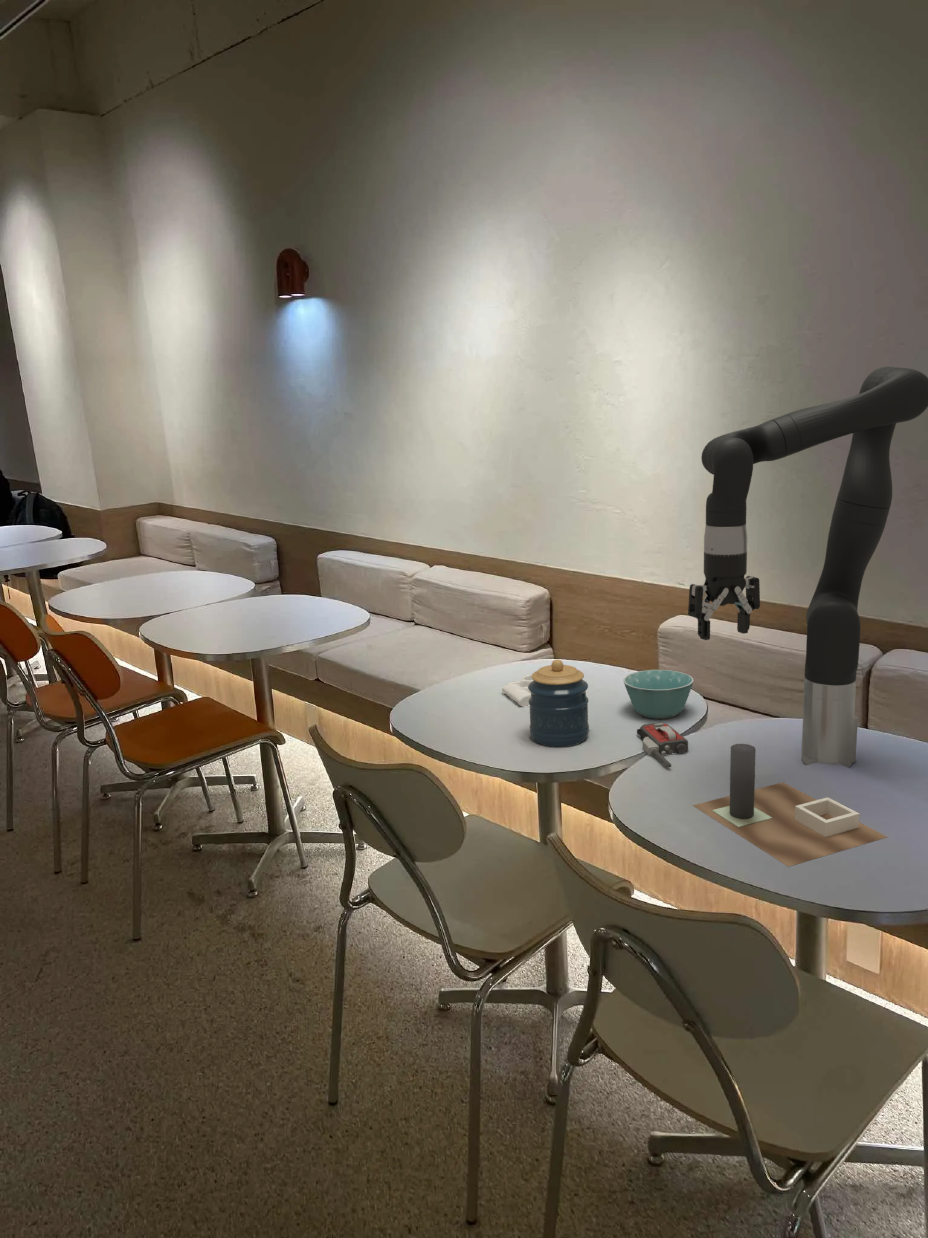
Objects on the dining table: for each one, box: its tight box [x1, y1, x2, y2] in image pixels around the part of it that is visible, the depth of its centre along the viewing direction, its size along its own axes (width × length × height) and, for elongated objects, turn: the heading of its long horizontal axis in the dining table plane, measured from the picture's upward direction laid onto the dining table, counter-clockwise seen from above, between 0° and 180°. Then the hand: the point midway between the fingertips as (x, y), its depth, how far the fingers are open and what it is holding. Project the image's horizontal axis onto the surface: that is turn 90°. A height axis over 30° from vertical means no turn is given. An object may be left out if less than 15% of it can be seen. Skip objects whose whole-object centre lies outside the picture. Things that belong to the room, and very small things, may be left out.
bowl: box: [623, 669, 694, 720], centre depth 208 cm, size 16×16×8 cm
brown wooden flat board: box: [692, 782, 888, 868], centre depth 151 cm, size 20×24×2 cm
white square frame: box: [795, 796, 861, 837], centre depth 149 cm, size 7×7×2 cm
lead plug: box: [729, 743, 757, 819], centre depth 152 cm, size 4×4×12 cm
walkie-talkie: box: [636, 721, 689, 768], centre depth 187 cm, size 9×4×20 cm
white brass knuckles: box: [501, 674, 533, 708], centre depth 224 cm, size 3×18×15 cm
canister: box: [528, 659, 590, 748], centre depth 195 cm, size 13×13×18 cm
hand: (723, 635), depth 166 cm, fingers open, 8 cm apart
